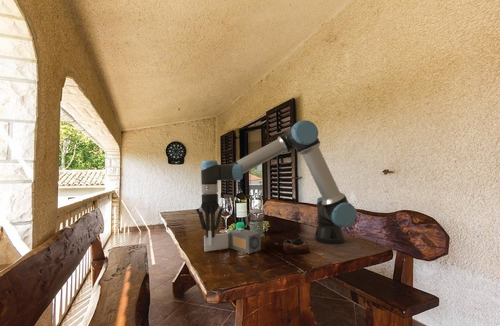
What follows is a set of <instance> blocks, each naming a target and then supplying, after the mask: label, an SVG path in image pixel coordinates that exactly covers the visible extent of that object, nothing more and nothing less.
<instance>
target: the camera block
mask: <svg viewBox="0 0 500 326" xmlns="http://www.w3.org/2000/svg"><path fill="white" fill-rule="evenodd" d="M228 233H230V248H229V249H232V250H235V251H238V252H242V253H245V254H247V253H248V255H251V254H253V252H254V253H256V252H258V251H261V250H262V242H261V241H262V240H261V238H262V237H261V233H259V232H254V231H250V229H245V228H244V229H243V228H239V229H237V230H236V229H233V230H232V229H231V230H229V231H228ZM250 253H251V254H250Z"/></svg>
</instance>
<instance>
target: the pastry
mask: <svg viewBox="0 0 500 326" xmlns="http://www.w3.org/2000/svg"><path fill="white" fill-rule="evenodd" d="M282 250H283V251H284V253H285V254H287V255H304V254H309V253H310V250H311V249H310V246H309V245H308V242H305V241H304V239H302V238H294V239H285V240H284V241H283V243H282Z"/></svg>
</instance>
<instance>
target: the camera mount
mask: <svg viewBox="0 0 500 326" xmlns="http://www.w3.org/2000/svg"><path fill="white" fill-rule="evenodd" d="M239 228H243V229H245V223H244V221H239V222H236V226H235V230H237V229H239Z"/></svg>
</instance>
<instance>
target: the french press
mask: <svg viewBox="0 0 500 326" xmlns="http://www.w3.org/2000/svg"><path fill="white" fill-rule="evenodd" d="M253 195H254V196H257V195H258V192H254V193H253ZM262 213H264V212H263V210H262V209H259V208H253V209H251V210H249V215H252V214H262ZM245 218H246V220H245V222H246V224H248V226H249V231H254V232H259V233H261V238H262V237H265V235H266V234H265V233H264V226H263V225H264V221H263V217H257V216H254V217H251V218H250V221H249V219H248V218H249V216H248V215H246V216H245ZM248 222H249V223H248Z"/></svg>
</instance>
